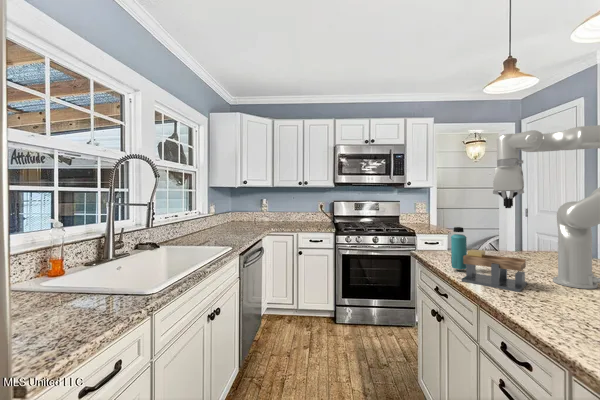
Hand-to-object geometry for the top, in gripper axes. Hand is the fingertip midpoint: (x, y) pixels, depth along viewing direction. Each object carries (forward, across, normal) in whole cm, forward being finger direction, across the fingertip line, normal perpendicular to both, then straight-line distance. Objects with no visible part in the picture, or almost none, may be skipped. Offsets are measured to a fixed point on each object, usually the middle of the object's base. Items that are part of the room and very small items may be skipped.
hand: (508, 207), depth 123 cm
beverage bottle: (+29, +18, +3) cm, 35 cm away
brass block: (+20, +8, +13) cm, 26 cm away
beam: (+22, +2, +14) cm, 26 cm away
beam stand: (+29, +2, +14) cm, 32 cm away
